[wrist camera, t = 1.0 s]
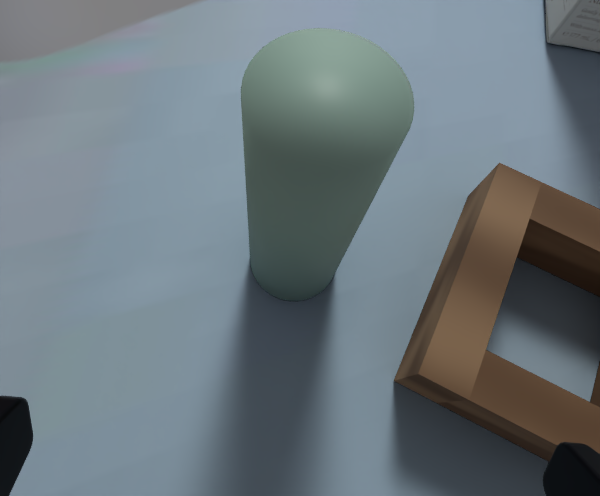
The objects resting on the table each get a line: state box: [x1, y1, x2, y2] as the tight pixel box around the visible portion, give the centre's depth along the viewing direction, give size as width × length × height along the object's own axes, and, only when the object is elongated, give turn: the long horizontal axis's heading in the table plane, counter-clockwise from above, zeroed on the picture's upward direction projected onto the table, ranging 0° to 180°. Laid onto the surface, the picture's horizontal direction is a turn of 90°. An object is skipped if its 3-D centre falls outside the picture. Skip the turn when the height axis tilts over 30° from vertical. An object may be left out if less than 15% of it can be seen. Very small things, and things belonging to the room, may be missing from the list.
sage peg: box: [241, 28, 414, 301], centre depth 17 cm, size 4×4×12 cm
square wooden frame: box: [394, 163, 600, 461], centre depth 21 cm, size 11×11×4 cm
